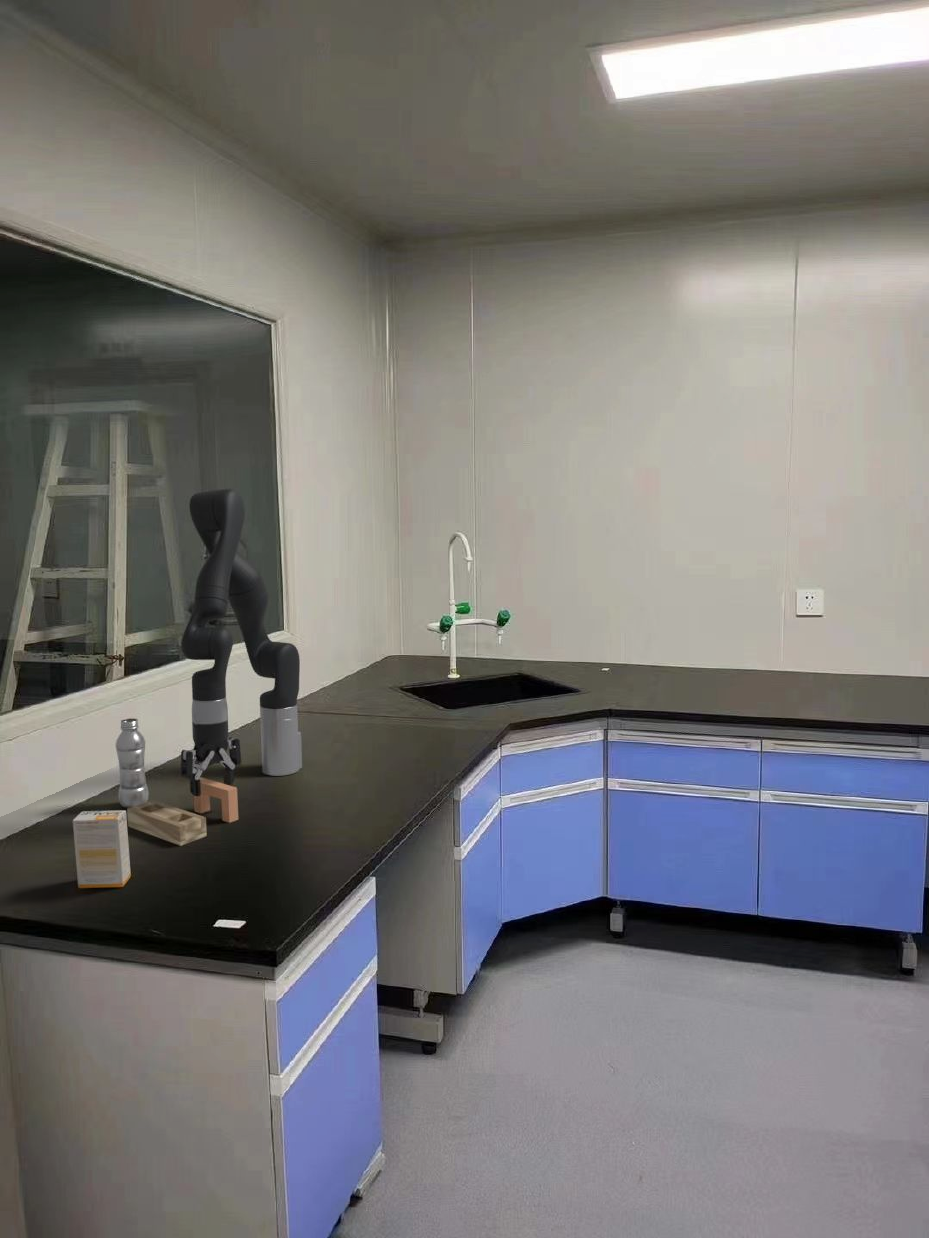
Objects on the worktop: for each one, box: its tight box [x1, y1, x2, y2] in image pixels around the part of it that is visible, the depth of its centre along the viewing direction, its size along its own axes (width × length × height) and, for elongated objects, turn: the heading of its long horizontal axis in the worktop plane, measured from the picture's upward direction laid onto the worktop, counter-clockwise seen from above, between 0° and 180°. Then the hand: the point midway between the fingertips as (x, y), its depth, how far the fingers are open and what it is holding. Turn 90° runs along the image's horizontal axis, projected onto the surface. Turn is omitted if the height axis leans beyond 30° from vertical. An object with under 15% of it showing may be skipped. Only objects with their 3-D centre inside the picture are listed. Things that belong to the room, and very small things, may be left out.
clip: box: [193, 777, 239, 824], centre depth 197 cm, size 2×12×7 cm, turn 54°
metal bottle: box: [115, 717, 150, 809], centre depth 203 cm, size 6×7×20 cm
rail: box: [126, 799, 207, 847], centre depth 189 cm, size 6×18×4 cm, turn 54°
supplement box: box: [72, 809, 132, 889], centre depth 163 cm, size 8×5×13 cm, turn 92°
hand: (212, 790), depth 197 cm, fingers open, 8 cm apart
